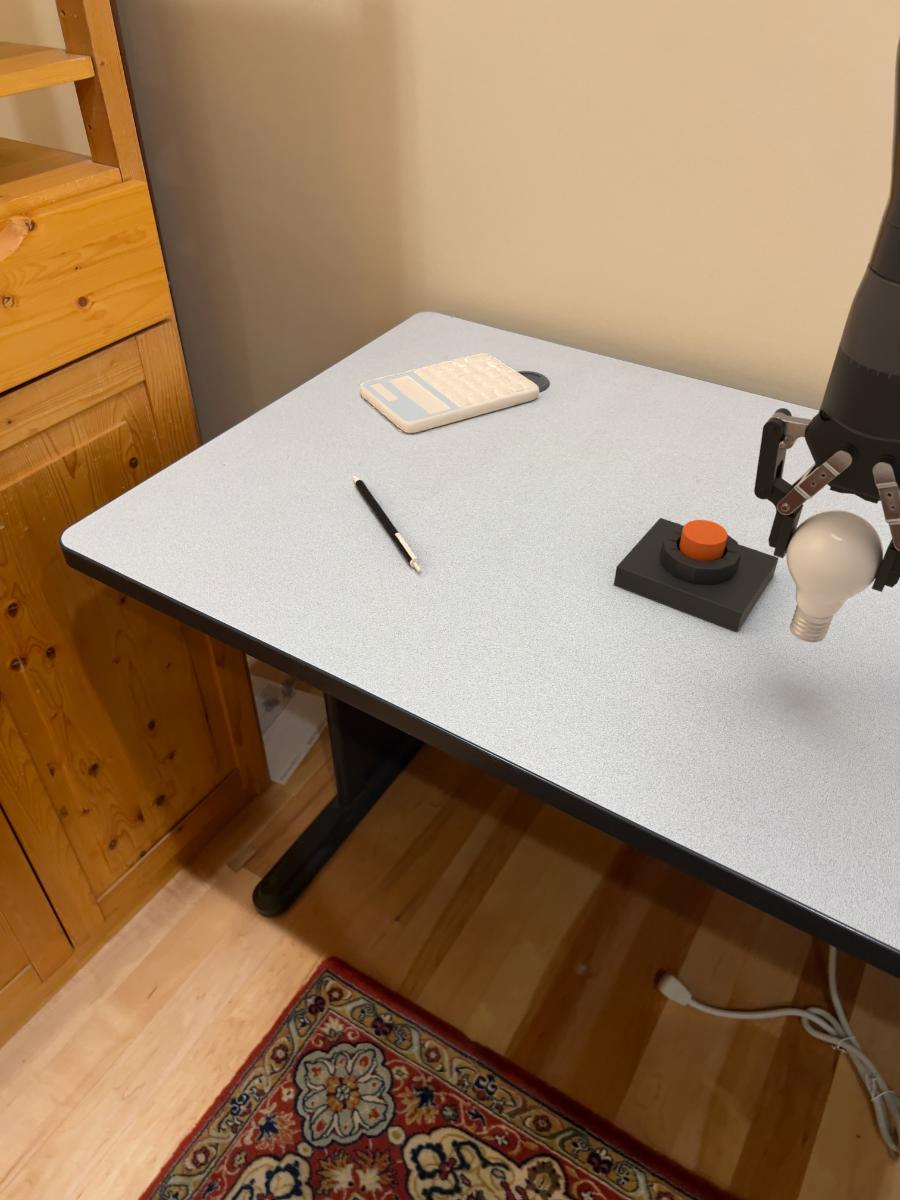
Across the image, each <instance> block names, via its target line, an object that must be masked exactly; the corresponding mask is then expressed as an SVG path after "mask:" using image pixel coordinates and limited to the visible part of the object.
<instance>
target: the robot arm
mask: <svg viewBox="0 0 900 1200" xmlns="http://www.w3.org/2000/svg"><path fill="white" fill-rule="evenodd" d="M894 64H895V66H894V93H893V121H892V122H893V123H892V125H893V126H892V140H891V142H892V143H891V161H890V162H891V163H890V165H891V166H890V167H891V168H890V183H889V184H890V185H889V193H888V198H887V202H886V204H885V207H884V209H883V213H882V216H881V219H880V222H879V226H878V229H877V232H876V236H875V239H874V242H873V245H872V249H871V252H870V255H869V259H868V263H867V265H866V269H865V271H864V274H863V276H862V278H861V280H860V282H859V284H858V287H857V289H856V291H855V294H854V296H853V299H852V301H851V304H850V307H849V310H848V314H847V316H846V317H847V318H846V321H845V324H844V327H843V331H842V334H841V337H840V341H839V344H838V348H837V350H836V354H835V358H834V361H833V364H832V368H831V370H830V374H829V378H828V381H827V384H826V388H825V392H824V395H823V397H822V401H821V405H820V408H819V410H818V412H817V414H816V415H814V416H813V417H812V418H811V419H810V418H804V417H798V416H793V414H792V413H791V411H790V410H789V409H788V408H784V407H781V408H778V409H776V410H775V412H774V413H773V414H772V415H771V416H770V417H769V419H768V420H767V421H766V422H765V423H764V425H763V427H762V433H761V439H760V447H759V452H758V453H759V454H758V460H757V467H756V475H755V481H754V489H753V493H754V495H755V497H756V498H758V499H760V500H767V501H769V502H770V503H771V504H772V505H773V506H774V507H775V514H774V519H773V521H772V526H771V529H770V533H769V536H768V539H767V541H768V546H769V547H770V548H772V549H773V548H774V551H773V555H772V556H775V557H778V558H780V559H784V558H785V557H786V556H787V547H788V543H789V540H790V538H791V536H792V534H793V533H794V531H795V530H796V529H797V527H798V526H799V521H800V518H801V515H802V511H803V508H804V503H806V502H807V501H808V500H811V499H812V498H813V497H814V496H815V495H816V494H817V493H819V492H820V491H821V490H822V489H823V488H825V487H826V486H829V487H830V488H829V491H832V492H836V493H839V494H846V495H847V494H848V495H854V496H856V497H858V498H860V499H862V500H864V501H866V502H869V503H872V504H876V505H877V504H878V503H879V502H880V504H881V507H882V513H883V516H884V520H885V522H886V523H887V524H888V527H889V530H890V535H891V540H890V541H889V544H888V546H887V548H886V550H885V553H884V554H883V561H882V563H881V566H880V568H879V571H878V573H877V576H876V578H875V580H874V581H873V584H872V585H871V586H872V587H871V590H874V591H877V592H880V593H883V591H884V588H885V586H886V587H890V588H893V587H895V586H896V585H897V584H898V583H899V581H900V35H899V36H898V42H897V46H896V53H895V63H894ZM800 438H804V441H805V443H806V445H807V447H808V449H809V452H810V455H811V457H812V459H813V461H814V463H813V464H812V465H811V466H810V467H809V468H808V469H807V470H806V471H805V472H804V473H802V475H801V476H800V477H799V478H797V479H796V480H795V482H793V483H792V484H791V483H790V482H788V481H787V480H785V479H783V476H784V469H785V468H784V467H785V463H786V462H785V461H786V456H787V450H790V449H791V448H792V447H794V445H795V444H796V442H797V441H798V439H800Z"/></svg>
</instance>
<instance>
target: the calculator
mask: <svg viewBox="0 0 900 1200" xmlns="http://www.w3.org/2000/svg"><path fill="white" fill-rule="evenodd" d="M359 393H360V395H361V397H362V398H363V399H365V400H366V401H367V402H368V403H369V404H370V405H372V406H373V407H374V408H375V409H376V410H377V411H378V412H380V413H381V414H382V415H383V416H384V417H386V418H387V419H388V420H389V421H390V422H391V423H393V424H394V425H395V426H396V427H397V428H399V429H400V430H401V431H402V432H404V433H407V434H415V433H419V432H424V431H427V430H431V429H435V428H438V427H441V426H445V425H449V424H453V423H456V422H459V421H463V420H467V419H470V418H474V417H478V416H482V415H485V414H489V413H492V412H496V411H499V410H502V409H506V408H510V407H514V406H517V405H518V406H519V405H521V404H525V403H528V402H532V401H534V400H536V399H538V397H539V396H540V388H539V386H538V385H537V384H536V383H535V382H533V381H532V380H531V379H530V378H528V377H526V376H524V375H523V374H521V373H519V371H517V370H515V369H513V368H512V367H510V366H509V365H507V364H506V363H504V362H503V361H501V360H500V359H498V358H496V357H495V356H493V355H492V354H490V353H486V352H481V353H475V354H471V355H467V356H463V357H459V358H454V359H450V360H447V361H441V362H438V363H435V364H431V365H430V364H429V365H426V366H422V367H418V368H414V369H410V370H406V371H401V372H397V373H394V374H388V375H385V376H381V377H377V378H372V379H369V380H366V381H363V382H361V383H360V384H359Z"/></svg>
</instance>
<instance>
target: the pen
mask: <svg viewBox="0 0 900 1200" xmlns="http://www.w3.org/2000/svg"><path fill="white" fill-rule="evenodd" d="M352 477H353V481H354V484H355V487H356V488H357V490H358V492H359V493H360V494H361V495H362V497H363V499H364V501H365V502H366V503H367V505H368V506H369V508H370V509H371V510H372V512H373V513H374V515H375V517H376V518H377V519H378V520H379V522H380V524H381V525H382V526H383V528H384V529H385V531H386V532H387V534H388V535H389V536H390V538H391V540H392V541H393V542H394V543H395V545H396V547H397V548H398V550H399V551H400V552H401V554H402V555H403V557H404V558H405V560H406V561H407V563H408V564H409V566H410V567H411V568H415V569H416V572H418V574H420V573H422V572H423V570H422V568H421V566H420V561H419V559H418V558H417V555H416V554H415V553H414V551H413V550H412V548H411V547H410V546H409V544H408V543H407V542H406V540H405V539H404V538H403V536H402V534H401V533H400V532H399V531H398V529H397V528H396V526H395V525H394V523H393V522H392V521H391V520H390V518H389V517H388V515H387V514H386V513H385V511H384V509H383V507H381V505H380V504H379V502H378V501H377V500H376V498H375V497H374V495H373V494H372V492H371V491H370V490H369V489H368V487H367V486H366V484H365V483H364V481H363V480H362V479H360V478H359V477H358V476H356V475H353V476H352Z"/></svg>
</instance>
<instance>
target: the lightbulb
mask: <svg viewBox="0 0 900 1200" xmlns="http://www.w3.org/2000/svg"><path fill="white" fill-rule="evenodd" d="M785 557H786V564H787V569H788V571H789V574H790V576H791V578H792V580H793V582H794V585H795V600H796V601H795V602H796V606H795V609H794V613H793V615H792V618H791V622H790V624H789V630H790V632H791V634H792V635H793V636H794V637H795V638H797V639H799V640H801V641H803V642H807V643H820V642H822V641H824V639H826V637H827V634H828V633H829V629H830V626H831V624H832V621H833V618H834V616H835V615H836V614H837V613H838V612H839V611H840V610H841V608H843V606H844V604H845V603H846V602H847V601H848V600H850V599H851V598H853V597H855V596H857V595H859V594H860V593H862V592H863V591H865V589H867V588H868V587H870V586H871V585H872V583H874V581H875V578H876V576H877V573H878V571H879V568H880V566H881V563H882V561H883V558H884V546H883V542H882V539H881V537H880V535H879V533H878V531H877V530H876V528H875V527H874V525H872V524H871V523H870V522H869V521H868V520H866V519H865V518H863V517H862V516H860V515H858V514H856V513H853V512H850V511H847V510H825V511H822V512H819V513H816V514H813V515H811V516H809V517H808V518H806V519H805V520H803V521H802V522H801V523H800V524H798V525H797V528H796V530H795V531H794V533H793V534H792V536H791V538H790V540H789V543H788V547H787V553H786V555H785Z"/></svg>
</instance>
